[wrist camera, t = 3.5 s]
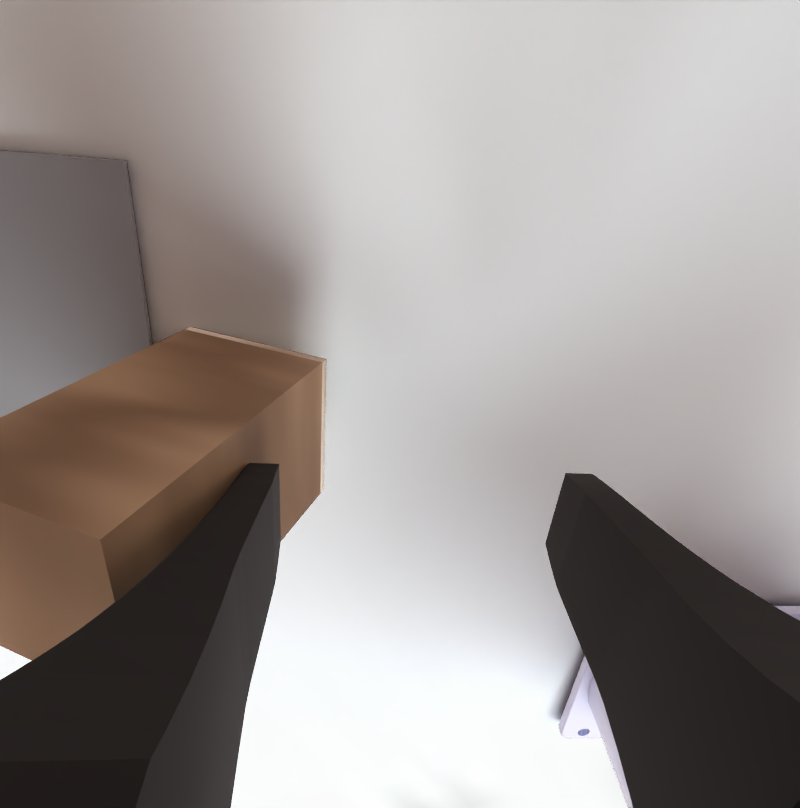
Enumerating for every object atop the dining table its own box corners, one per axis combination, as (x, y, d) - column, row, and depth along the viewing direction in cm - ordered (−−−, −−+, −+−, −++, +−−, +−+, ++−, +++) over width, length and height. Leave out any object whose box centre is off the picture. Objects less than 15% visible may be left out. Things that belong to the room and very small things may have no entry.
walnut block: (326, 359, 14) (99, 539, 8) (323, 489, 16) (140, 711, 10) (190, 326, 15) (-99, 464, 9) (203, 452, 17) (-27, 633, 11)
